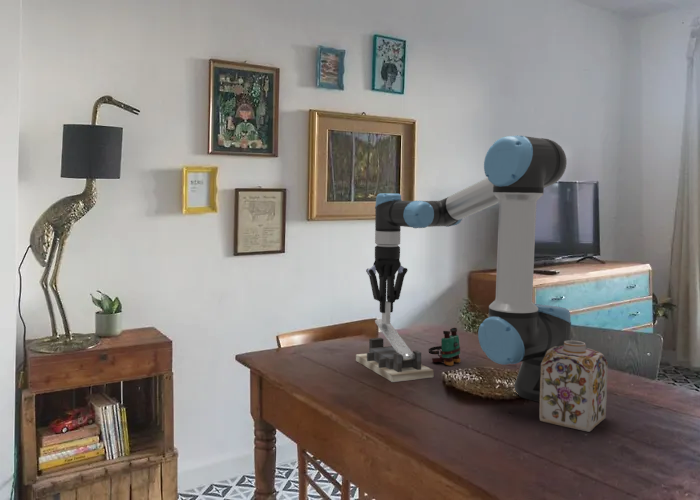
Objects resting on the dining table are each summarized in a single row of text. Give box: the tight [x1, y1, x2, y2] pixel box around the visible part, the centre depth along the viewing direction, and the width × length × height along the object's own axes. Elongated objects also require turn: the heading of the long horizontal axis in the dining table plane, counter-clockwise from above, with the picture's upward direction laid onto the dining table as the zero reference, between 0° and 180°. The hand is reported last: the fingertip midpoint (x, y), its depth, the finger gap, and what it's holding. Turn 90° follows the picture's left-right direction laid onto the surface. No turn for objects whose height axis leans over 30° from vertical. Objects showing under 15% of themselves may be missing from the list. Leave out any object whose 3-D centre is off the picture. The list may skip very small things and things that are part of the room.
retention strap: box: [374, 318, 415, 361], centre depth 186 cm, size 20×4×2 cm, turn 24°
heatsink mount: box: [355, 337, 435, 383], centre depth 187 cm, size 25×13×7 cm, turn 23°
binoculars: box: [428, 327, 462, 367], centre depth 195 cm, size 9×11×10 cm
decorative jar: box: [538, 340, 609, 433], centre depth 143 cm, size 12×12×18 cm
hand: (386, 323), depth 191 cm, fingers closed
